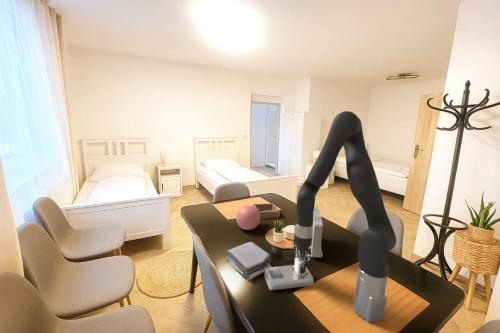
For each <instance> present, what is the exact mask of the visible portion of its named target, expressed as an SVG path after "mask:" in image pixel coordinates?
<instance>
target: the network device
mask: <svg viewBox="0 0 500 333" xmlns="http://www.w3.org/2000/svg"><path fill="white" fill-rule="evenodd" d="M313 216H314V217H313V235H312V245H311V246H310V247H309V248H308V250H310V253H311V254H310V253H308V255H309V256H311V257H313V258H322V257H323V251H322V239H323V237H322V236H323V229H324V227H323V226H324V223H323V220H322V216H321V212H320V209H319V207H318V206H314V211H313Z"/></svg>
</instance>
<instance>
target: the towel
mask: <svg viewBox="0 0 500 333" xmlns="http://www.w3.org/2000/svg"><path fill="white" fill-rule="evenodd" d="M225 255H226V261H227V262H228V264H230V266H231V267H232V268H233V269H234V270H235V271H237V272H239V273H240V274H241V275H243V276H244V277H245V278H246V279H247V280H249V281H250V280H253V279H254V278H256V277H257V276H259V275H261V274H262V273H264V268H269V267H272V265H271V264H270V263H271V258H270V257H271V255H270V254H269V253H268V252H267V251H265V250H264V249H262V248H260V246H258V245H257V244H255V243H254V242H252V241H248V242H245V243H243V244H241V245H238V246H236V247H233V248H231V249H228V250H226V252H225Z"/></svg>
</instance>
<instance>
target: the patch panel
mask: <svg viewBox="0 0 500 333" xmlns="http://www.w3.org/2000/svg"><path fill="white" fill-rule="evenodd" d="M294 265H295V264H291V265H290V264H288V265H282V266H280V265H279V266H271V267H269V268H264V272H263V276H264V279H265V282H266V284H267V286H268V290H269V291H276V290H285V289H286V290H287V289H293V288H300V287H308V286H309V287H310V286H314V276H313V275H312V273H311V272H310V270H309V269H308V268H307V273H306V275H304V276H296V274H295V273H294Z"/></svg>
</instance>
